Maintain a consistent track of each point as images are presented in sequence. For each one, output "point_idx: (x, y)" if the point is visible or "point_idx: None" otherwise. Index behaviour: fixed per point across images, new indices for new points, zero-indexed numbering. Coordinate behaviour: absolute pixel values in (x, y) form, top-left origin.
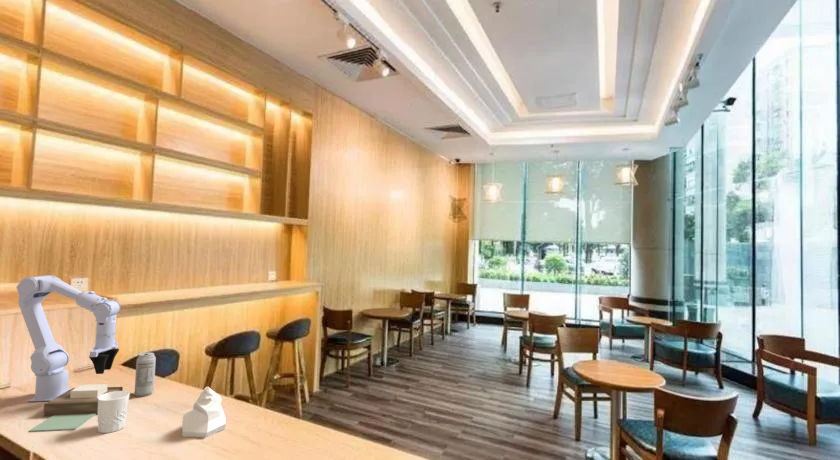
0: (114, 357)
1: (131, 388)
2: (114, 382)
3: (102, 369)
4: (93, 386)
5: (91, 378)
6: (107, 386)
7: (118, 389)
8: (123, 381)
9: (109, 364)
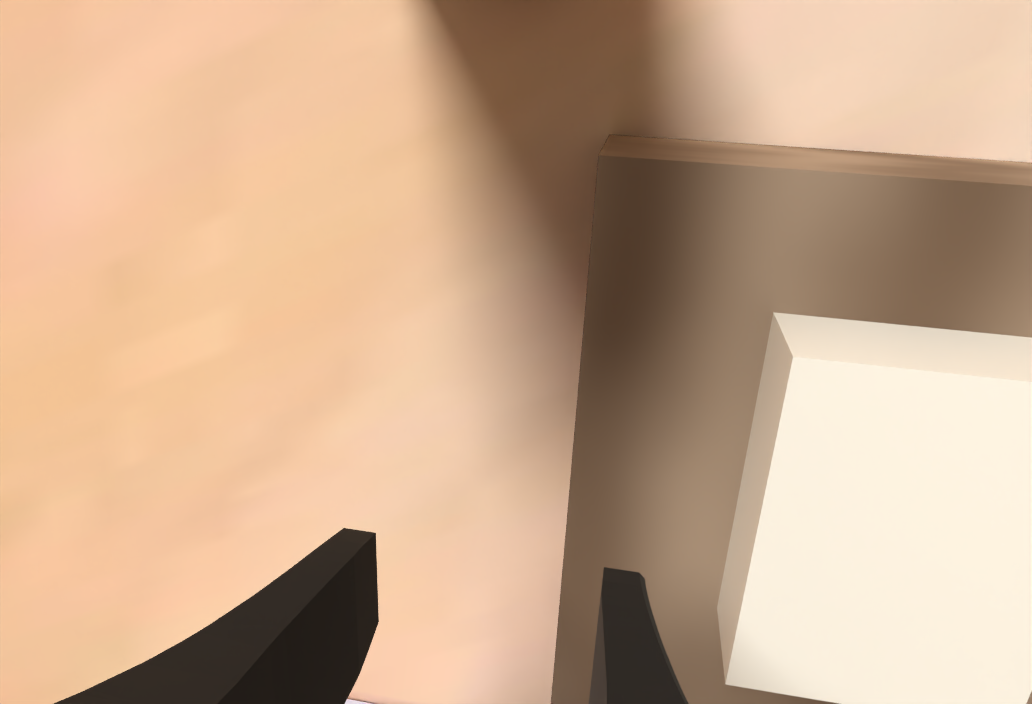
0: (165, 665)
1: (260, 158)
2: (80, 425)
3: (658, 642)
4: (870, 523)
5: (4, 646)
6: (789, 339)
7: (730, 169)
8: (40, 347)
9: (331, 615)
